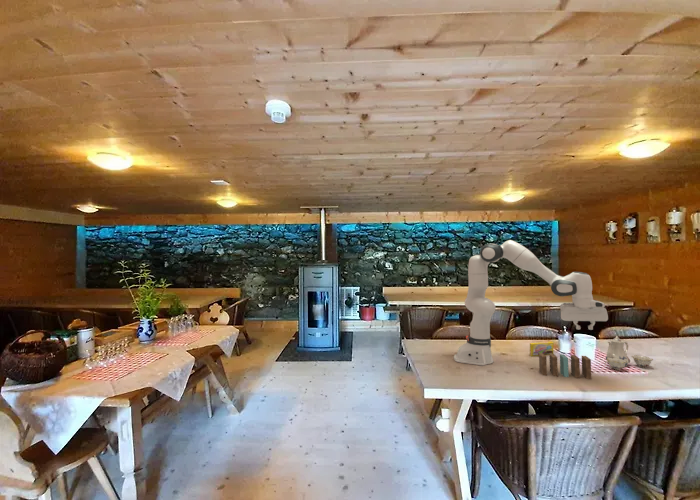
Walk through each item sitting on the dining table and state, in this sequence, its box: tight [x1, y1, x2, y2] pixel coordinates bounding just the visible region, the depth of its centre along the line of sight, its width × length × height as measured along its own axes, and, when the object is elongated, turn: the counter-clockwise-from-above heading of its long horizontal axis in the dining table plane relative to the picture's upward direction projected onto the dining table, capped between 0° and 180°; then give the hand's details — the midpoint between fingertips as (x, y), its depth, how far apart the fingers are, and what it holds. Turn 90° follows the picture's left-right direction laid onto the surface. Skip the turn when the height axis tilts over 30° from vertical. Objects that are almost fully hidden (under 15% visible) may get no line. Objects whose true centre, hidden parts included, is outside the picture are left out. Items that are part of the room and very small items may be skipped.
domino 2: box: [548, 353, 559, 377], centre depth 170 cm, size 2×6×10 cm, turn 163°
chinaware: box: [604, 335, 654, 371], centre depth 180 cm, size 28×17×17 cm, turn 106°
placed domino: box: [559, 353, 570, 378], centre depth 169 cm, size 2×6×10 cm, turn 163°
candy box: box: [529, 341, 555, 358], centre depth 202 cm, size 16×2×8 cm, turn 101°
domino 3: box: [570, 354, 581, 379], centre depth 167 cm, size 2×6×10 cm, turn 163°
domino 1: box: [538, 353, 548, 376], centre depth 171 cm, size 2×6×10 cm, turn 163°
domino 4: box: [581, 355, 592, 380], centre depth 166 cm, size 2×6×10 cm, turn 163°
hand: (584, 329), depth 166 cm, fingers open, 4 cm apart
